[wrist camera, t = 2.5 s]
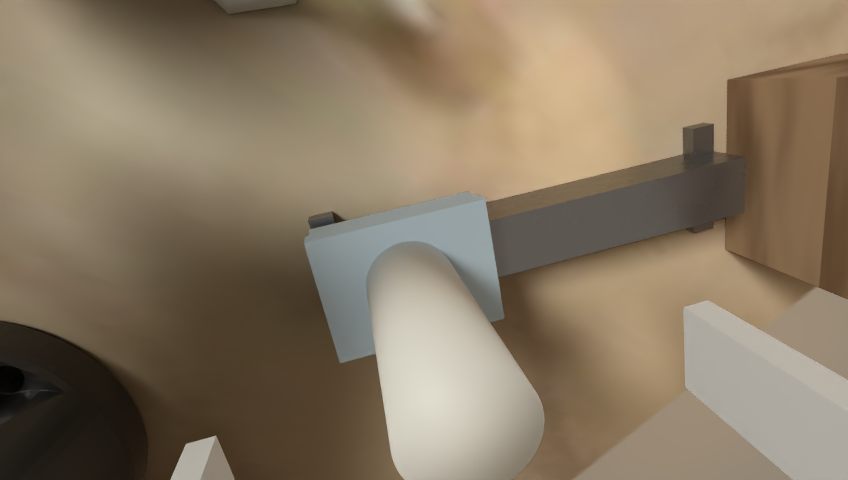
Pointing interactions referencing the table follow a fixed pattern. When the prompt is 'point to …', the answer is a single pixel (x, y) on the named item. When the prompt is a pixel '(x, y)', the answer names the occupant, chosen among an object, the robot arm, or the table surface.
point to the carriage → (430, 336)
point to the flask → (251, 4)
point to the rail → (614, 206)
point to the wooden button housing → (793, 170)
